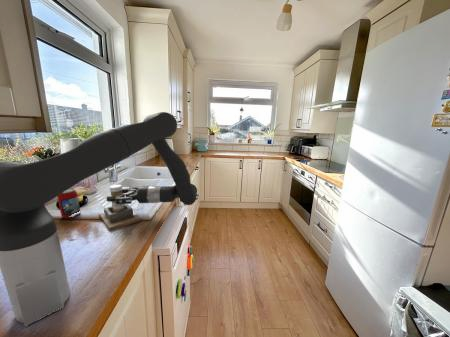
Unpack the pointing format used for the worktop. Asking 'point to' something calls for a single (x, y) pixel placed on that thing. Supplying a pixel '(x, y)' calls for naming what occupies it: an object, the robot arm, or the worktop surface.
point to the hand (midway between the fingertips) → (112, 195)
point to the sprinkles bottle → (116, 191)
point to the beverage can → (68, 203)
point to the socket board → (119, 217)
